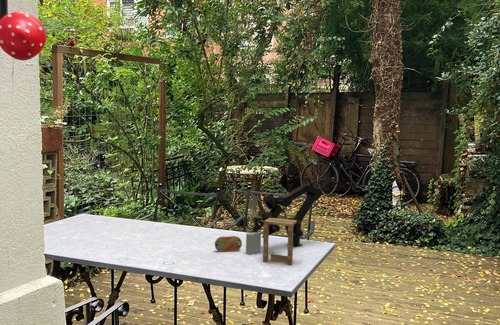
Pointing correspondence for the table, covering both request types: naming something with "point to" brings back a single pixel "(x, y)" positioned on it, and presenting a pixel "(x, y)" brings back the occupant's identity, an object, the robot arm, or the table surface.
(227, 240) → the tin
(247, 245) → the slab
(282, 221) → the wooden frame
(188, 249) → the table surface
